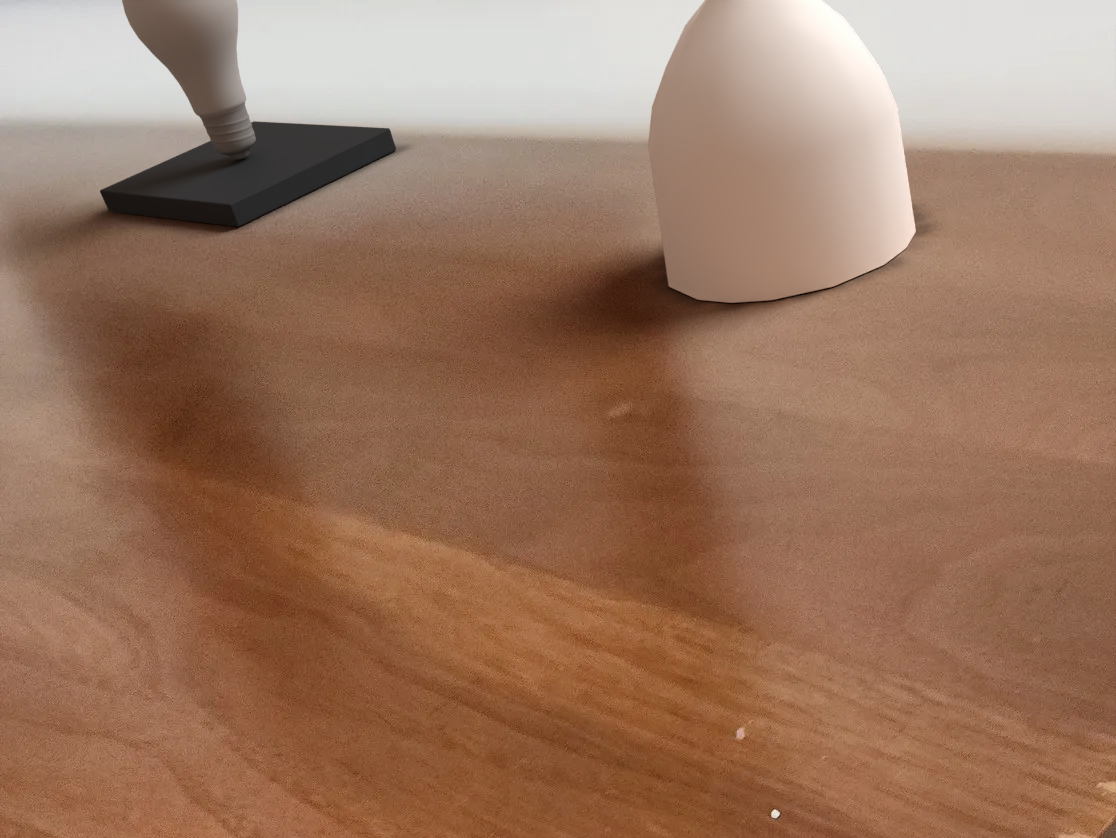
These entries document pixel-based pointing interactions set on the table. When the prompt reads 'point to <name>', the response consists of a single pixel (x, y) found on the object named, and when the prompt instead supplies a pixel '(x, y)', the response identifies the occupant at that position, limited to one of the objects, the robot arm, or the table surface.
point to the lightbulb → (200, 62)
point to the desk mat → (249, 173)
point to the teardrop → (775, 154)
